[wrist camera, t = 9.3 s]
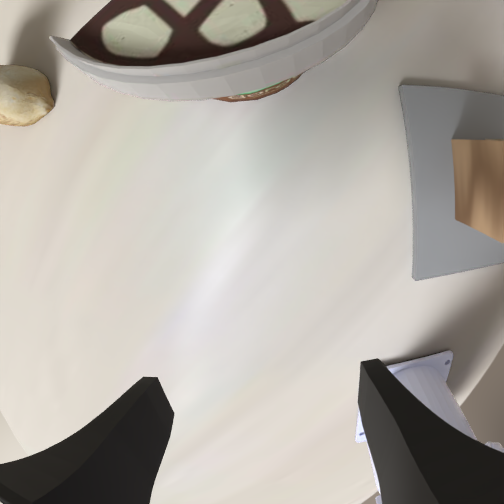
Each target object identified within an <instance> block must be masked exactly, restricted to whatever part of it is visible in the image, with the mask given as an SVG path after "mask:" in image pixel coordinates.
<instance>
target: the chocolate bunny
mask: <svg viewBox="0 0 504 504" xmlns="http://www.w3.org/2000/svg"><path fill="white" fill-rule="evenodd" d="M53 107H54V100H53V99H52V96H51V90H50V84H49V81H48V79H47V77H46V76H45V75H44V74H42V73H41V72H39V71H38V70H36V69H32V68H29V67H25V66H19V65H0V124H4V125H12V126H29V125H32V124H34V123H36V122H37V121H39V120H40V119H41V118H42V117H44V116H45V115H47V114H48V112H50V111H51V110H52V109H53Z"/></svg>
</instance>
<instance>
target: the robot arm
mask: <svg viewBox="0 0 504 504" xmlns="http://www.w3.org/2000/svg"><path fill="white" fill-rule="evenodd" d="M452 359H453V353H452V351H450V350H449V351H445V352H441V353H438V354H434V355H430V356H427V357H423V358H419V359H415V360H411V361H406V362H402V363H398V364H393V365H389V366H385V365H384V364H383V363H382V362H381V361H380V360H379V359H373V360H367V361H362V362H361V366H360V382H359V394H358V405H359V411H358V420H357V428H356V436H355V440H356V442H364V441H366V442H367V446H368V450H369V455H370V459H371V464H372V468H373V473H374V478H375V482H376V486H377V489H378V491H379V493H380V494H381V495H379V496H377V497H376V503H377V504H504V448H503V447H502V446H501V445H500V443H492V442H487V443H486V444H482V443H480V442H479V441H477V439H476V437H475V435H474V433H473V431H472V429H471V427H470V425H469V423H468V422H467V420H466V418H465V416H464V414H463V412H462V410H461V409H460V407H459V405H458V403H457V401H456V400H455V398H454V396H453V394H452V393H451V391H450V389H449V387H448V386H447V384H446V381H447V377H448V374H449V370H450V367H451V363H452ZM173 419H174V412H173V410H172V408H171V406H170V403H169V401H168V399H167V397H166V395H165V393H164V391H163V389H162V386H161V384H160V382H159V380H158V377H143V378H141V379H140V380H139V381H138V382H136V383H135V384H134V385H133V386H132V387H131V388H130V389H129V390H127V391H126V392H125V393H124V394H123V395H122V396H121V397H120V398H119V399H117V400H116V401H115V402H114V403H113V404H112V405H111V406H109V407H108V408H107V409H106V410H105V411H104V412H102V413H101V414H100V415H99V416H97V417H96V418H95V419H94V420H92V421H91V422H90V423H88V424H87V425H86V426H85V427H83V428H82V429H80V430H79V431H77V432H76V433H74V434H73V435H71V436H70V437H68V438H66V439H65V440H63V441H61V442H59V443H57V444H55V445H53V446H52V447H50V448H48V449H46V450H43V451H41V452H39V453H36V454H34V455H31V456H28V457H26V458H23V459H19V460H16V461H12V462H8V463H4V464H0V502H2V503H3V504H149V503H150V498H151V493H152V488H153V485H154V481H155V478H156V476H157V473H158V470H159V467H160V464H161V461H162V458H163V456H164V453H165V450H166V447H167V444H168V441H169V438H170V434H171V430H172V424H173Z"/></svg>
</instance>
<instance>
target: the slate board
mask: <svg viewBox="0 0 504 504" xmlns="http://www.w3.org/2000/svg"><path fill="white" fill-rule="evenodd" d="M399 92H400V97H401V103H402V109H403V115H404V121H405V128H406V135H407V143H408V152H409V162H410V173H411V187H412V206H413V270H412V278H413V279H414V280H415V281H418V280H424V279H429V278H434V277H440V276H445V275H450V274H455V273H459V272H464V271H469V270H474V269H478V268H483V267H487V266H492V265H496V264H500V263H504V243H501V242H499V241H497V240H495V239H493V238H491V237H489V236H487V235H485V234H483V233H482V232H480V231H478V230H476V229H474V228H472V227H469V226H467V225H465V224H463V223H461V222H459V221H457V220H455V185H454V166H453V154H452V143H451V139H465V140H485V139H504V96H502V95H497V94H491V93H485V92H479V91H472V90H464V89H455V88H445V87H434V86H418V85H401V86H399Z"/></svg>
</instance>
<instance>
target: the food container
mask: <svg viewBox="0 0 504 504" xmlns="http://www.w3.org/2000/svg"><path fill="white" fill-rule="evenodd" d="M377 2H378V0H111V1H110V2H109V3H108V4H107V5H106V6H105V7H103V8H102V9H101V10H100V11H99V12H98V13H97V14H96V15H95V16H94V17H93V18H92V19H91V20H90V21H89V22H88V23H87V24H85V25H84V26H83V27H82V28H81V29H80V30H79V31H78V32H77V34H76V35H75V36H74V37H73V38H72V39H71V40H68V39H64V38H59V37H55V36H50V37H49V39H50V40H51V41H52V42H53V43H54V44H55V45H56V47H55V48H56V49H57V50H58V51H59V52H60V54H61V55H62V56H63V57H64V58H65V59H66V60H67V61H69V62H70V63H71V64H73V65H74V66H75V67H76V68H78V69H79V70H80V71H82V72H83V73H84V74H86V75H87V76H89V77H90V78H91V79H93V80H94V81H96V82H97V83H99V84H100V85H103V86H105V87H107V88H110V89H112V90H114V91H117V92H119V93H122V94H127V95H131V96H135V97H139V98H143V99H153V100H164V101H190V100H207V99H216V100H221V101H227V102H237V101H249V100H258V99H261V98H263V97H266V96H269V95H272V94H275V93H277V92H279V91H281V90H283V89H284V88H286V87H288V86H289V85H290V84H292V83H293V82H294V81H296V80H297V79H298V78H299V77H300V76H301V75H302V73H303V72H305V71H307V70H309V69H310V68H312V67H314V66H316V65H318V64H320V63H322V62H324V61H325V60H327V59H328V58H329V57H331V56H332V55H334V54H335V53H336V52H338V51H339V50H341V49H342V48H343V47H345V46H346V45H347V44H348V43H349V42H350V41H351V40H352V39H353V38H354V37H355V36H356V35H357V34H358V33H359V32H360V31H361V30H362V29H363V27H364V26H365V24H366V23H367V21H368V20H369V18H370V17H371V15H372V14H373V12H374V10H375V7H376V4H377Z"/></svg>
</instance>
